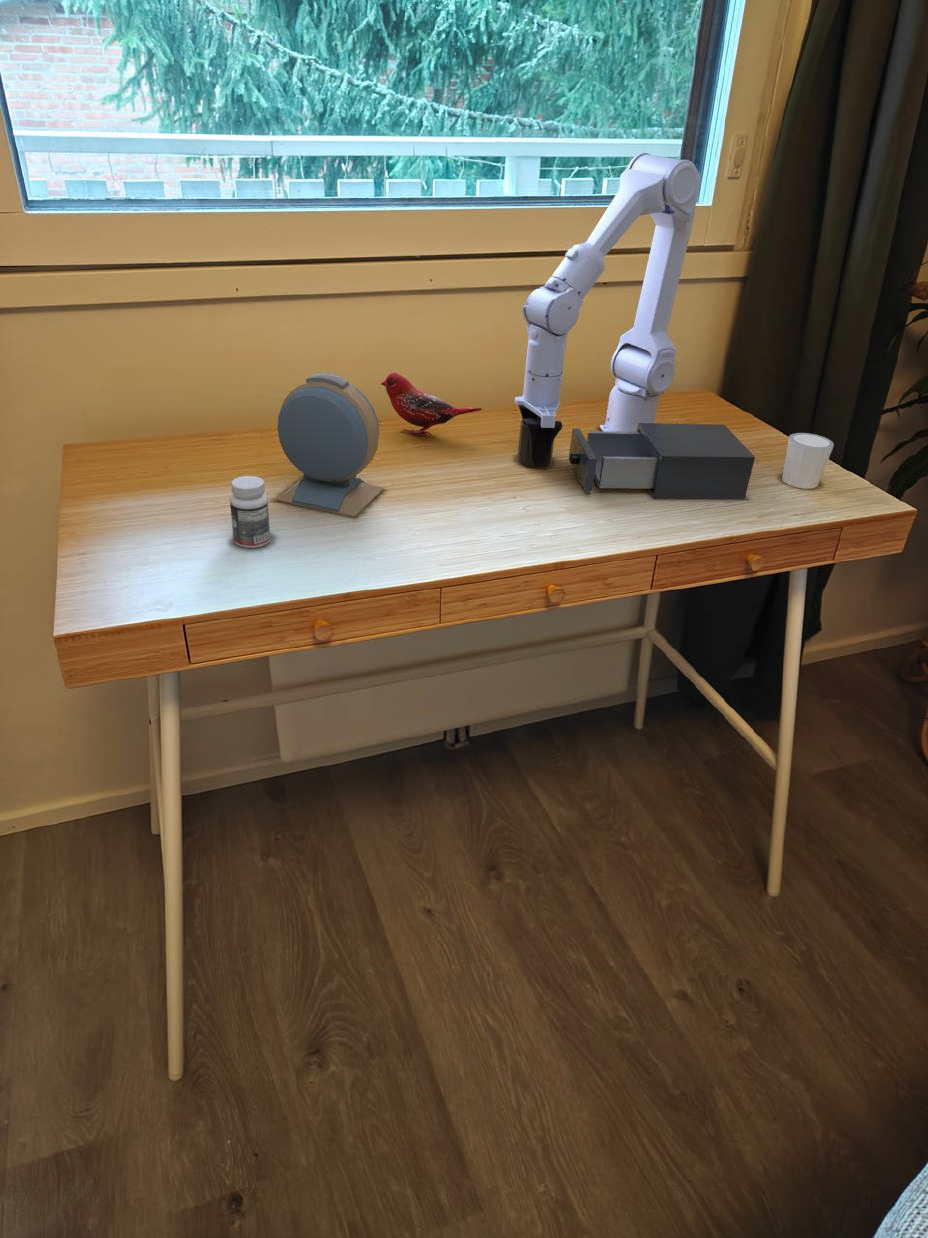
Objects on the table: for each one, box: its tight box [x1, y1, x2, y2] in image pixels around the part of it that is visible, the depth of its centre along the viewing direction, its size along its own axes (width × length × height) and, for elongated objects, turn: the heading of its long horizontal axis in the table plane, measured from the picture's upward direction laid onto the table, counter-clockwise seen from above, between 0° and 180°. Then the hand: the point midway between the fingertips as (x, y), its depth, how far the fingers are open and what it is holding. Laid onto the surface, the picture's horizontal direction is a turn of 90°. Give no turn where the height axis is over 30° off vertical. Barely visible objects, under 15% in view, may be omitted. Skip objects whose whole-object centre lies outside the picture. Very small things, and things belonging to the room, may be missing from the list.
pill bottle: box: [229, 475, 271, 549], centre depth 115 cm, size 5×5×8 cm
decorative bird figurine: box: [380, 372, 483, 436], centre depth 148 cm, size 3×18×10 cm, turn 74°
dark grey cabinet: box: [637, 422, 756, 500], centre depth 140 cm, size 14×13×7 cm
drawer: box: [568, 428, 660, 492], centre depth 138 cm, size 15×12×5 cm
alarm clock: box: [275, 372, 384, 518], centre depth 125 cm, size 14×10×18 cm
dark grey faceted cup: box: [517, 417, 555, 469], centre depth 143 cm, size 5×5×6 cm
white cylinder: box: [781, 432, 835, 490], centre depth 142 cm, size 7×7×7 cm
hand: (535, 454), depth 144 cm, fingers closed on dark grey faceted cup, 5 cm apart
